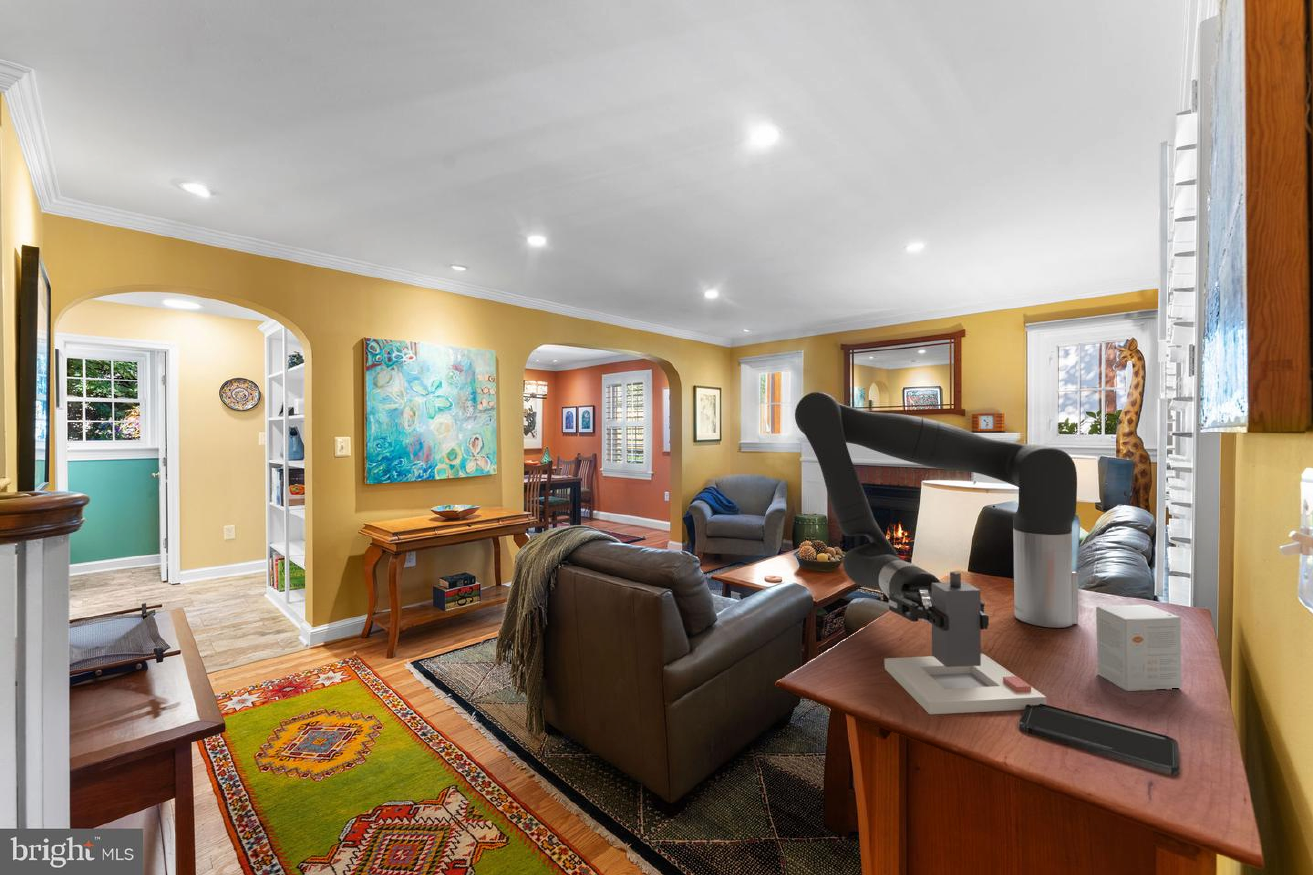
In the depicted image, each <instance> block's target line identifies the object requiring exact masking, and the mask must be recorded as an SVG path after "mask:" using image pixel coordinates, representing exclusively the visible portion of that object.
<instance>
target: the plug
mask: <svg viewBox="0 0 1313 875" xmlns="http://www.w3.org/2000/svg"><path fill="white" fill-rule="evenodd" d="M981 593H982V592H981V589H979V588H978V587H975V586H973V585H971V584H970V583H968V582H966V581H962V573H961V572H959V571H950V572H949V581H947V582H946V581H945V582H941V583H932V608H937V609H938V610H940V611H941V612H943V613H944V614H946V615H947V616H948V617H949V630H948V631H942V630H941V629H940V628H938V627H936V626H934V625H933V624H931V656H934V657H935V658H936V659H937V660H938V661H940V662H941V663H942V664H943V665H944V666H946V667H960V666H981V654H982V652H981V651H982V650H981V649H982V648H981V647H982V646H981V643H982V642H981V641H982V640H981V636H982V635H981V630H982V629H980V614H981V600H982V599H981V596H982V595H981Z"/></svg>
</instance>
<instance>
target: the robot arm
mask: <svg viewBox="0 0 1313 875" xmlns="http://www.w3.org/2000/svg"><path fill="white" fill-rule="evenodd" d="M794 419H795V423H796V425H797V429H799V431H800V432H801V433H803V435H804V436H805V437H806V439H807V440H808V443H809V444H810V447H811V448H812V450H813V452H814V454H815V458H816V459H817V462H818V464H819V467H820V470H821V473H822V477H823V480H824V483H825V488H826V492H827V496H828V498H829V502H830V506H831V507H832V510H833V513H834V516H835V519H836V522H837V525H838V527H839V529H840V532H841V533H842V534H843V536H845V537H855V536H866V537H867V538H868V540H869V541H870V542H869V543H866V544H863V545H860V546H858V547H854V548H851V549H849V550H848V551H846V552H845V554H844V556H843V558H842V566H843V567H842V568H843V570H844V572H845V574H846V575H847V577H848V578H849V579H850V580H851V581H852V582H853V583H855V584H856V585H858V586H861V587H863V588H867V589H871V590H872V589H873V590H877V591H880V592H881V593H882V594H884V595H885V596H886V597H887V598H888V610H890V611H891V612H893V613H895V614H897V615H899V616H900V617H903V618H904V619H907V620H908V621H911V622H919V619H921V620H923V622H925V623H928V624H931V625H932V624H933V625H934V626H936V627H938V628H940V629H941V630H942V631H948V630H949V617H948V616H947V615H946V614H944V613H943V612H941V611H940V610H938V609H937V608H932V583H942V582H941V580H939V578H938V577H936V575H934V574H932V573H930V572H928V571H927V570H925V569H923V568H922V567H919V566H918V565H915V564H914V563H911V562H908V561H905V560H904V559H902V558H900V557H899V554H898V552H897V550H896V549H895V547H894V545H892V544H891V542H890V541H889V539H888V538H887V537H886V535H885V534H884V533H883V531H882V529H881V528H880V526H879V524H878V523H877V521H876V519H875V517H874V513H873V511H872V508H871V506H870V502H869V501H868V497H867V495H866V493H865V490H864V487H863V485H862V483H861V480H860V478H859V476H858V473H857V470H856V468H855V466H854V463H853V460H852V458H851V455H850V451H849V448H848V445H847V443H848V444H851V445H852V444H853V445H858V446H861V447H864V448H867V449H870V450H872V451H874V452H878V453H880V454H883V455H887V456H888V457H893V458H896V459H899V460H902V461H906V462H909V463H913V464H916V465H917V464H918V465H921V466H925V467H931V468H935V469H942V470H948V471H958V472H967V473H973V474H974V473H975V474H978V475H979V474H980V475H983V476H986V477H989V478H992V479H996V480H998V481H1002V482H1004V483H1007V484H1010V485H1012V486H1015V487H1016V488H1018V505H1017V506H1018V507H1017V509H1016V512H1015V513H1014V514H1013V517H1012V529H1013V530H1012V531H1013V532H1012V533H1013V535H1012V536H1013V537H1012V538H1013V540H1012V541H1013V583H1014V584H1013V586H1014V587H1013V588H1014V592H1013V595H1014V596H1013V597H1014V598H1013V599H1014V601H1013V602H1014V605H1013V606H1014V617H1015V618H1016V619H1018V620H1019V621H1021V622H1024V623H1026V624H1030V625H1033V626H1038V627H1045V628H1053V629H1054V628H1057V629H1059V628H1061V629H1062V628H1068V627H1069V628H1070V627H1071V626H1073V625H1076V624H1079V575H1078V573H1077V572H1076V571H1074V570H1073V523H1074V520H1075V518H1076V514H1077V504H1078V502H1077V500H1078V498H1077V497H1078V494H1077V493H1078V474H1077V473H1078V472H1077V467H1076V464H1075V462H1074V460H1073V458H1072V457H1071V455H1069V454H1068V453H1067V452H1066V451H1064V450H1063V449H1060V448H1057V447H1053V446H1048V445H1047V446H1046V445H1042V444H1041V445H1040V444H1027V443H1017V442H1010V441H1005V440H1004V441H1003V440H998V439H993V438H989V437H984V436H982V435H978V434H977V433H974V432H971V431H969V430H966V429H963V428H961V427H958V426H956V425H952V424H948V423H947V422H943V421H938V420H934V419H931V418H930V419H929V418H926V417H921V416H917V415H916V416H915V415H908V414H901V413H888V412H875V411H874V412H873V411H867V410H862V409H858V408H854V407H851V406H849V405H845V404H842V403H839V402H838V401H837V400H836V398H834V397H833V396H832V395H830V394H828V393H826V392H823V391H813V392H810V393H807V394H806V395H804V396H803V397H802V398H800V400H799V402H798V403H797V405H796V407H795V410H794ZM989 620H990V617H989V615H988V614H987V613H985V602H984V600H982V599H981V614H980V629H981V630H988V627H989Z"/></svg>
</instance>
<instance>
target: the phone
mask: <svg viewBox="0 0 1313 875" xmlns="http://www.w3.org/2000/svg"><path fill="white" fill-rule="evenodd" d="M1018 724H1019V729H1020V730H1021V731H1022V732H1024V733H1025V734H1029V735H1032V736H1035V737H1036V736H1037V737H1039V738H1042V739H1046V740H1049V741H1052V742H1057V743H1060V744H1064V745H1066V746H1070V747H1072V748H1073V747H1074V748H1075V749H1076V748H1077V749H1080V750H1083V751H1087V752H1090V753H1094V754H1098V755H1100V756H1105V757H1108V758H1110V759H1114V760H1118V761H1122V762H1125V763H1128V764H1131V765H1135V766H1137V767H1141V768H1145V769H1149V770H1152V771H1155V772H1159V773H1162V774H1166V775H1172V776H1173V775H1174V776H1176V775H1179V773H1180V761H1179V759H1180V758H1179V756H1180V755H1179V742H1178V740H1176V739H1174V738H1173V737H1171V736H1169V735H1165V734H1162V733H1157V732H1154V731H1149V730H1147V729H1146V730H1145V729H1142V728H1138V727H1134V726H1130V725H1127V724H1124V723H1123V724H1121V723H1117V722H1115V721H1110V720H1106V719H1103V718H1098V717H1095V716H1091V715H1087V714H1083V713H1080V712H1075V711H1071V710H1067V709H1063V708H1060V707H1057V706H1056V707H1055V706H1052V705H1048V704H1046V705H1045V704H1039V705H1030V704H1028V705H1026V707H1025V709H1024V710H1023V712H1022V714H1021V717H1020V719H1019V722H1018Z"/></svg>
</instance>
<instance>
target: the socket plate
mask: <svg viewBox="0 0 1313 875" xmlns="http://www.w3.org/2000/svg"><path fill="white" fill-rule="evenodd" d="M883 660H884V669H885V670H886V671H887V672H888V674H890V676H891V677H892V678H894V680H895V681H896V682H897V683H898V684H899V685H900V686H901V687H903V689H904V690H905V691H906V692H907V693H908V694H909V695H910V697H912V698H913V699H914V700H915V702H917V703H918V704H919V705H920V706H921V707H922V708H923V709H924V710H925V711H926V712H927V713H928V714H929V715H944V714H963V713H982V712H983V713H985V712H1004V711H1006V712H1007V711H1024V709H1025V707H1026V705H1028V704H1030V705H1039V704H1045V705H1047V696H1045V695H1044V694H1042V693H1041V692H1040V691H1039V690H1037V689H1036V688H1034V687H1033V686H1032V685H1031V684H1028V683H1027V682H1026V681H1025V680H1023V679H1021V678H1020V677H1018V676H1016V675H1015V674H1014V673H1012V672H1010V671H1009V670H1008V669H1006V668H1005V667H1003V666H1002V665H1001V664H999V663H997V662H996V661H995V660H993V659H992V658H990V657H989V656H988V655H986V654H984V653H981V666H960V667H946V666H944V665H943V664H942V663H941V662H940V661H938V660H937V659H936V658H935V657H934V656H932V655H931V656H910V657H906V656H905V657H889V658H887V657H886V658H884V659H883Z"/></svg>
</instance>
